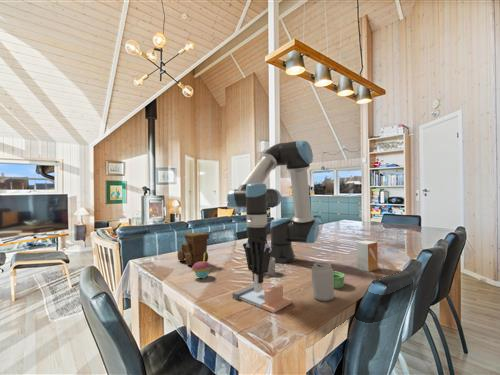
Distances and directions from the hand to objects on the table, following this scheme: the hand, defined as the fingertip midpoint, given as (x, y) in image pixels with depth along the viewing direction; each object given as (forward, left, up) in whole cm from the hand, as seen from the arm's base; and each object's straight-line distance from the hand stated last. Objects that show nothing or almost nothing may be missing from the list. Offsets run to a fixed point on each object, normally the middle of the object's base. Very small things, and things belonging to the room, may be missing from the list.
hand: (258, 291), depth 91 cm
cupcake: (-35, 0, -3) cm, 35 cm away
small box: (+17, +60, -3) cm, 62 cm away
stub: (+9, 0, -2) cm, 9 cm away
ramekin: (+14, +30, -3) cm, 33 cm away
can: (+17, +16, -3) cm, 23 cm away
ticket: (-1, 0, -3) cm, 3 cm away
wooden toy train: (-59, +11, -3) cm, 60 cm away
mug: (-16, +23, -3) cm, 28 cm away
